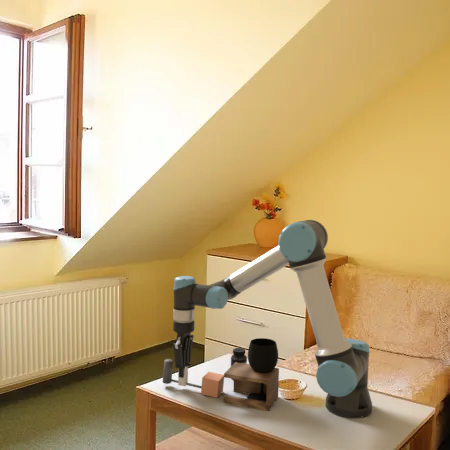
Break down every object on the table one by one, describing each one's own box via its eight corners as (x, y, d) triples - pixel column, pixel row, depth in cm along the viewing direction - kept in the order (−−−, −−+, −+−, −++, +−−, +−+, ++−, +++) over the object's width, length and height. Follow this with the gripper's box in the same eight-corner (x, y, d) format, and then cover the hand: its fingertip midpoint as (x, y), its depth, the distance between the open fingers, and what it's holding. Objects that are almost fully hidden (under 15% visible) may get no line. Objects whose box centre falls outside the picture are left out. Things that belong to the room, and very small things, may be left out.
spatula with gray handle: (222, 391, 186) (224, 369, 185) (217, 397, 180) (219, 375, 179) (166, 378, 193) (168, 357, 192) (159, 383, 187) (160, 362, 186)
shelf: (278, 396, 182) (279, 368, 182) (269, 410, 171) (270, 380, 170) (234, 390, 188) (235, 362, 187) (223, 403, 176) (224, 373, 175)
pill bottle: (228, 375, 201) (228, 347, 200) (243, 374, 203) (244, 346, 202) (233, 381, 195) (234, 352, 194) (248, 380, 197) (249, 351, 196)
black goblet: (261, 407, 174) (262, 348, 172) (240, 397, 182) (241, 340, 180) (283, 399, 180) (284, 343, 179) (262, 390, 188) (263, 335, 187)
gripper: (182, 314, 193) (181, 376, 195) (165, 323, 180) (165, 390, 182) (201, 316, 191) (199, 379, 193) (185, 326, 178) (184, 393, 180)
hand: (182, 384), depth 188 cm, fingers closed on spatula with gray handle
